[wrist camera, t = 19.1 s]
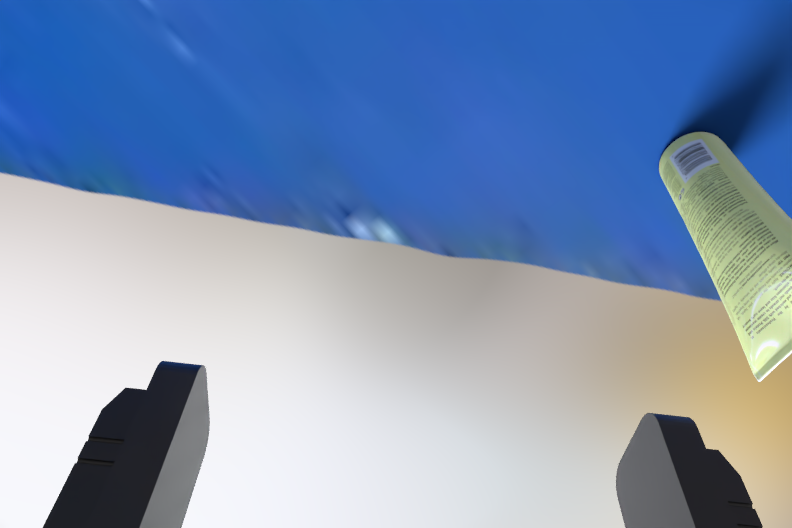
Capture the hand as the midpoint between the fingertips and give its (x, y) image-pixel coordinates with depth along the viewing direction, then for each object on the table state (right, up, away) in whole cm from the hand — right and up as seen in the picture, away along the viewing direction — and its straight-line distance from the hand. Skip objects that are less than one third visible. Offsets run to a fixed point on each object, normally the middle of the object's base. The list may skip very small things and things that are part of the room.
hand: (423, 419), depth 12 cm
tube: (+22, +11, +39) cm, 46 cm away
